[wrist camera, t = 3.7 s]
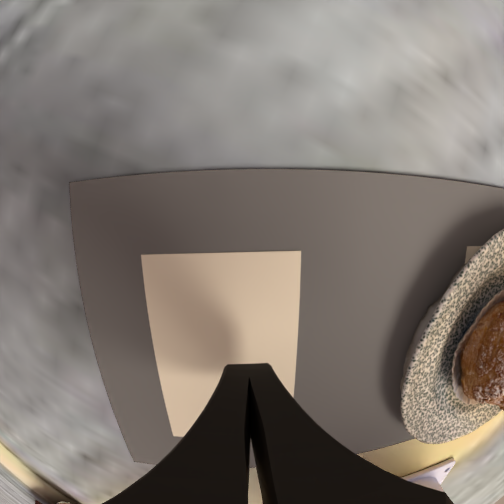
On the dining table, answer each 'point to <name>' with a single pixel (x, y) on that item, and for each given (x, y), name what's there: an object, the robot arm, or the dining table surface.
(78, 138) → the dining table surface
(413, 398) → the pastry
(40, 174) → the dining table surface
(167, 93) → the dining table surface
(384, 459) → the dining table surface
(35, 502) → the chocolate cake
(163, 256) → the label panel
